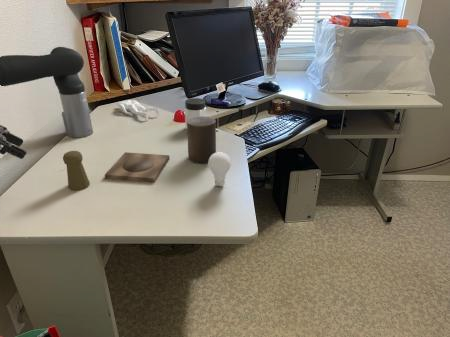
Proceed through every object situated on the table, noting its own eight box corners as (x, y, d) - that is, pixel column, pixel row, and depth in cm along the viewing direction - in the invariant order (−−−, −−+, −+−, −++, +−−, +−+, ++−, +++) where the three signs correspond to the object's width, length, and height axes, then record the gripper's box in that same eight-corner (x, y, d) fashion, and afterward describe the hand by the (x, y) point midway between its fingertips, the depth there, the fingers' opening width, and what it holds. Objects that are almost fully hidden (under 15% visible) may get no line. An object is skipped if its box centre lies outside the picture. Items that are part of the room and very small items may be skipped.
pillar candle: (210, 165, 115) (210, 123, 108) (183, 161, 117) (181, 120, 110) (219, 153, 123) (219, 113, 116) (194, 150, 125) (193, 111, 118)
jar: (209, 130, 142) (208, 102, 136) (190, 134, 139) (189, 105, 133) (201, 123, 149) (200, 96, 143) (183, 126, 146) (181, 99, 140)
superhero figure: (162, 118, 158) (128, 108, 172) (162, 105, 156) (127, 96, 170) (142, 122, 150) (108, 111, 163) (142, 109, 147) (107, 99, 161)
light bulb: (208, 180, 106) (207, 148, 101) (229, 179, 106) (229, 147, 101) (209, 192, 100) (208, 158, 95) (231, 191, 101) (232, 157, 95)
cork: (82, 191, 100) (75, 158, 95) (64, 189, 101) (55, 156, 96) (93, 181, 105) (86, 149, 100) (76, 179, 106) (68, 147, 101)
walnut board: (105, 178, 107) (104, 173, 106) (125, 156, 121) (125, 151, 120) (154, 182, 105) (154, 177, 104) (169, 159, 119) (169, 154, 118)
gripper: (-53, 119, 85) (13, 150, 96) (-58, 139, 75) (16, 171, 86) (-35, 95, 85) (29, 129, 96) (-38, 111, 75) (34, 147, 86)
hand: (23, 149), depth 91 cm, fingers open, 8 cm apart
